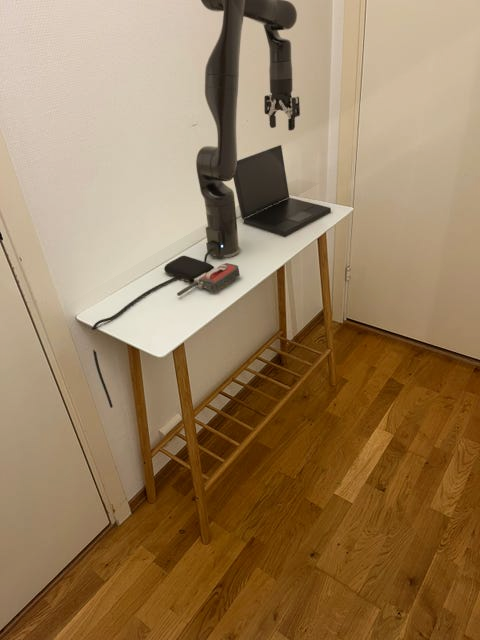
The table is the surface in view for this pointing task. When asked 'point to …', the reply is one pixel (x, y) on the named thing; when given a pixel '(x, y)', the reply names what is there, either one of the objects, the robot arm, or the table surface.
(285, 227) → the laptop
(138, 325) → the table surface
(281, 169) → the laptop screen
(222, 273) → the grey red handheld meter
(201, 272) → the carrying case
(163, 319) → the table surface
